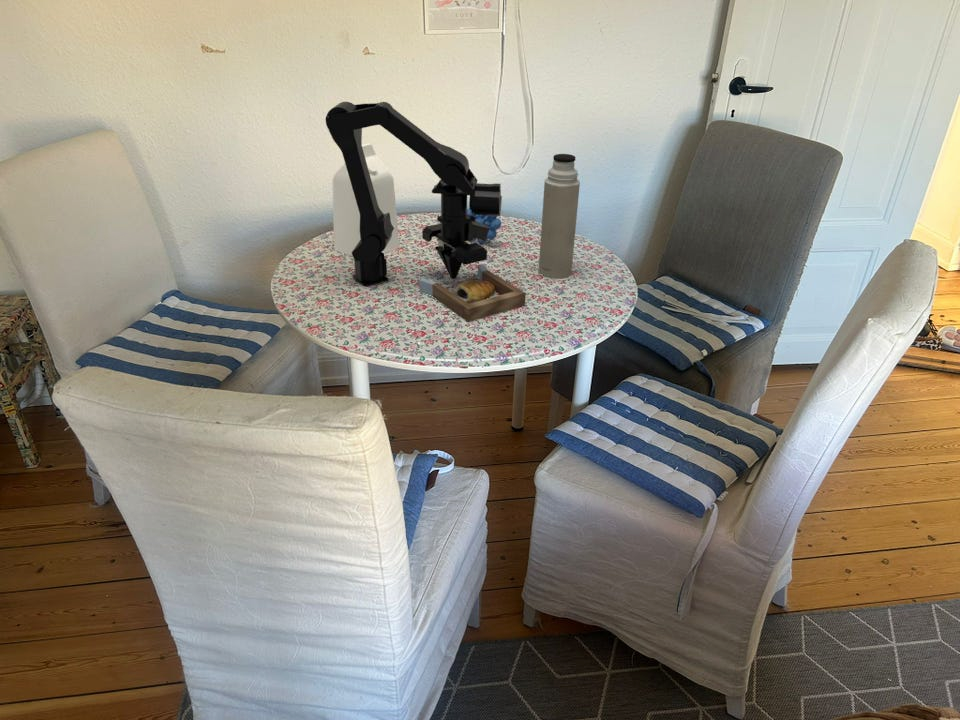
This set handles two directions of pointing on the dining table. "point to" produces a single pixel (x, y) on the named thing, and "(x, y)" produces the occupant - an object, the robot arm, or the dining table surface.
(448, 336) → the dining table surface
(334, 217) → the milk
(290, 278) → the dining table surface
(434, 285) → the holder
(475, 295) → the pastry
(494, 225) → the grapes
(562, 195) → the thermos bottle
